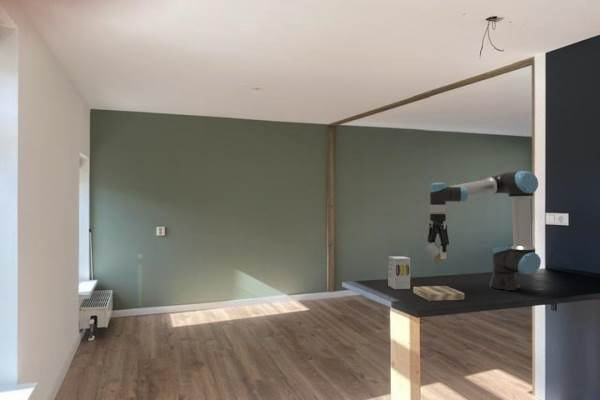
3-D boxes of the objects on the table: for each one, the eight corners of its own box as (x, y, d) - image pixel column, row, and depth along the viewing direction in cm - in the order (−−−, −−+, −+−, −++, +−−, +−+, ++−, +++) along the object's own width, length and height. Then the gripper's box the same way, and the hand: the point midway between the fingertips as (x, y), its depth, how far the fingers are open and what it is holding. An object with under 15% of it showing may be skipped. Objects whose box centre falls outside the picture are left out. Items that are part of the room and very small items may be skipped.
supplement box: (394, 289, 224) (394, 258, 224) (387, 286, 233) (387, 256, 233) (410, 288, 226) (410, 257, 226) (403, 285, 235) (403, 255, 235)
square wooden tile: (445, 291, 219) (445, 285, 219) (464, 299, 201) (464, 293, 201) (413, 292, 216) (413, 286, 216) (429, 300, 198) (429, 294, 198)
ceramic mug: (434, 266, 206) (435, 255, 201) (423, 255, 212) (424, 245, 207) (451, 257, 209) (452, 246, 204) (440, 247, 215) (441, 237, 210)
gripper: (420, 212, 219) (420, 254, 219) (442, 213, 197) (442, 260, 196) (433, 212, 220) (434, 254, 220) (456, 213, 198) (456, 260, 198)
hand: (437, 257), depth 208 cm, fingers closed on ceramic mug, 10 cm apart
